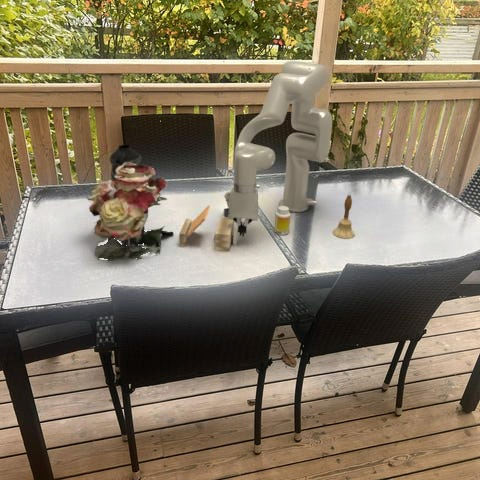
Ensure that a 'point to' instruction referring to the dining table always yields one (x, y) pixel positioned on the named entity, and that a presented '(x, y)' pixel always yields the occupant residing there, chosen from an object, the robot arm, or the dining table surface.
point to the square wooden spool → (221, 234)
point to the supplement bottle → (282, 220)
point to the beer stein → (123, 159)
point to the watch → (227, 197)
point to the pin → (234, 237)
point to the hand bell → (345, 222)
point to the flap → (198, 221)
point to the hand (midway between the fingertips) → (242, 234)
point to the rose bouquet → (127, 212)
